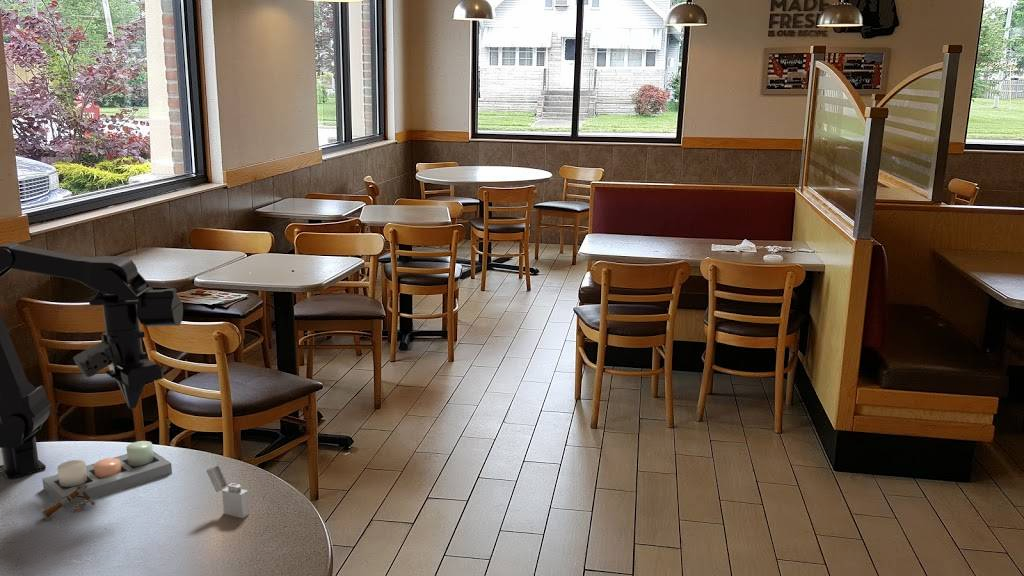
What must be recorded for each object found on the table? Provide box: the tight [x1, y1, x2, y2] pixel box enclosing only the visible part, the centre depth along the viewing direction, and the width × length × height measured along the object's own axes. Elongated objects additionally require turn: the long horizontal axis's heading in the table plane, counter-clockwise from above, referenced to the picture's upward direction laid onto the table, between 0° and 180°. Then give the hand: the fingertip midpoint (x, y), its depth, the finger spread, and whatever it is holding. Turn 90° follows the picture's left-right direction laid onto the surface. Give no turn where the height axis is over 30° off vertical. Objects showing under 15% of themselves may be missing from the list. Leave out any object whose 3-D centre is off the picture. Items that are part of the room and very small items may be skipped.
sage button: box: [126, 440, 154, 467], centre depth 162 cm, size 4×4×3 cm
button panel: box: [41, 450, 173, 508], centre depth 159 cm, size 10×19×2 cm, turn 136°
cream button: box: [57, 459, 87, 488], centre depth 154 cm, size 4×4×3 cm
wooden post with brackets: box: [39, 483, 96, 522], centre depth 147 cm, size 2×8×4 cm, turn 128°
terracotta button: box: [93, 457, 122, 479], centre depth 159 cm, size 4×4×3 cm
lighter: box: [206, 464, 250, 519], centre depth 147 cm, size 7×2×8 cm, turn 67°
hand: (132, 407), depth 162 cm, fingers closed
